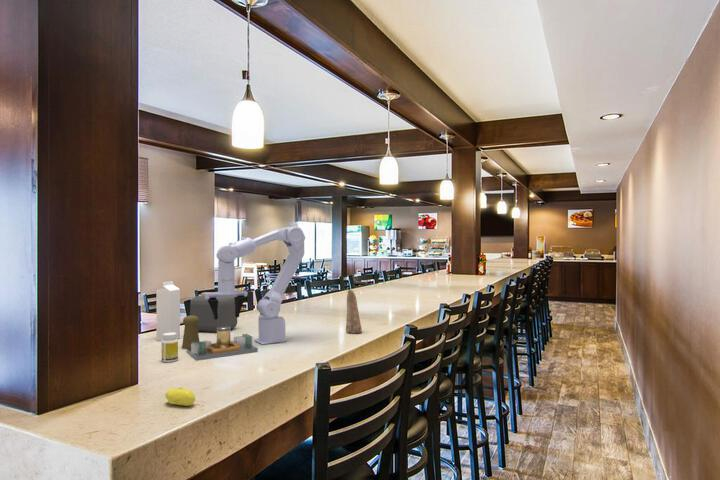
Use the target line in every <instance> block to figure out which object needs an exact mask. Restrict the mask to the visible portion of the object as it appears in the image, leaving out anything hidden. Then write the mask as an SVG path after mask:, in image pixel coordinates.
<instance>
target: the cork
mask: <svg viewBox="0 0 720 480" xmlns="http://www.w3.org/2000/svg"><path fill="white" fill-rule="evenodd" d="M182 320H183V321H182V323H183V325H184V330H183V338H182V344H181V349H183V350H187V348H191V344H192V342H193V341H200V335H199V331H198V327H197V324H198V322H199V318H198V317H197V316H192V315H191V316H190V315H187V316H184V318H183V319H182Z"/></svg>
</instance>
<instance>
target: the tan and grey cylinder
mask: <svg viewBox="0 0 720 480" xmlns="http://www.w3.org/2000/svg"><path fill="white" fill-rule="evenodd" d="M216 330H217V332H216V343H217V348H224V347H230V341H231V330H232V329H231V327H229V326H221V327H217V328H216Z"/></svg>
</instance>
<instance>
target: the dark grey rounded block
mask: <svg viewBox="0 0 720 480" xmlns="http://www.w3.org/2000/svg"><path fill="white" fill-rule="evenodd" d="M205 293H213V292H210V291H209V292H201V293H200V295H197V296H194V297H192V299H190V303H189V307H190V309H189V311H190V312H189V313H190V315H189V316H191V315H192V316H197V317H198V318H199V322H198V324H197V327H198V332H207V333H217V330H216V328H217V327H221V326H229V327H231V329H230V330H232V329H235V328H236V327H237V325H238V317H235V300H234V297H227V298H216V299H217V300H218V309H217V312H218V319H214V316H213V312H212V309H211V306H210V304H209V302H208V300H207V299H205ZM222 296H233V295H222Z"/></svg>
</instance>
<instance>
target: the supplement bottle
mask: <svg viewBox="0 0 720 480" xmlns="http://www.w3.org/2000/svg"><path fill="white" fill-rule="evenodd" d="M176 338H177V334H176V333H165V334H163V339H164V340H162V341H161V362H162V363H173V362H176V361H178V360H179V340H178V339H176Z"/></svg>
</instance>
